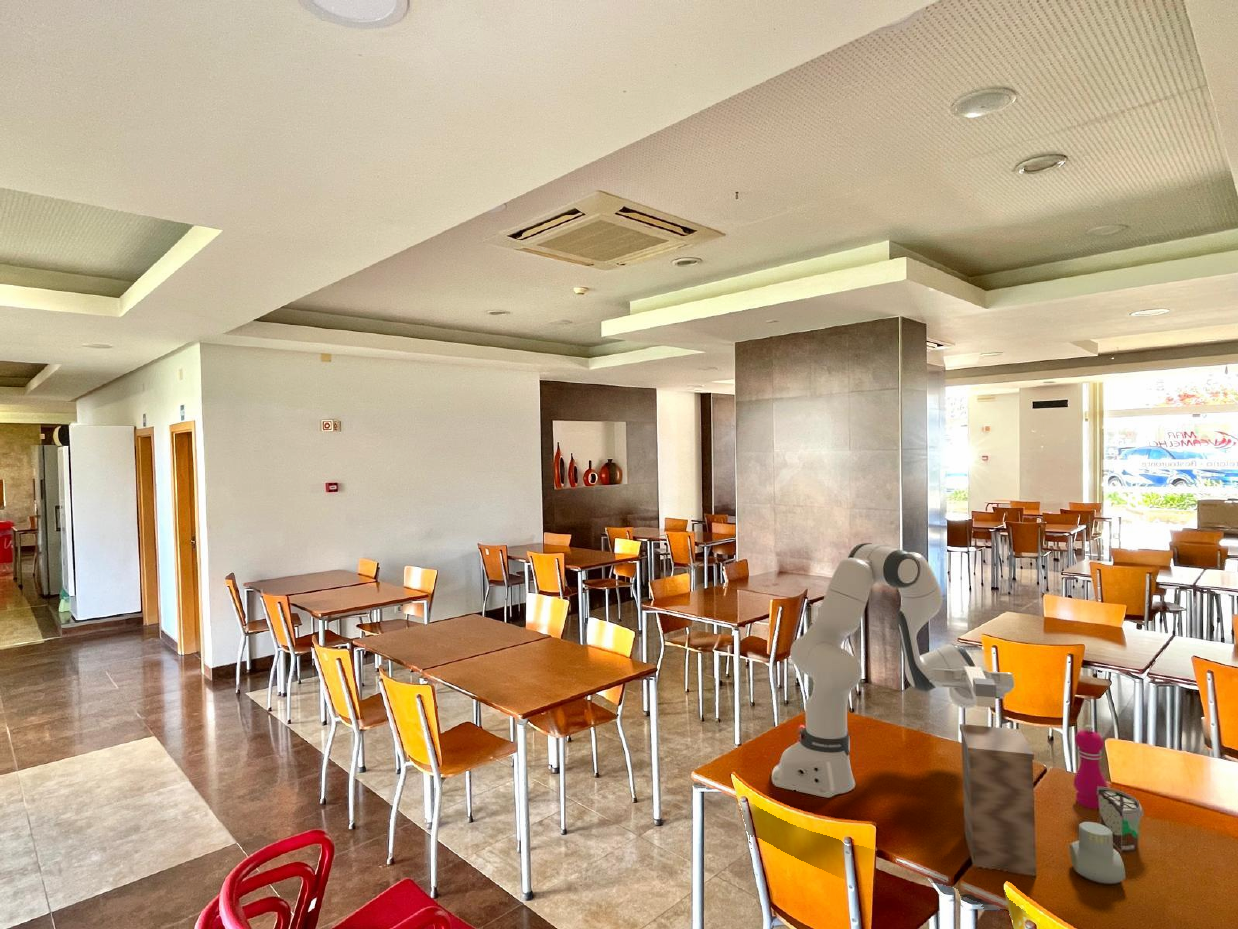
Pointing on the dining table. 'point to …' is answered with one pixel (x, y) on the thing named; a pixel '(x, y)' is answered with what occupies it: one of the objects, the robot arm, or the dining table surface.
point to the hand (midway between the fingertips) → (974, 672)
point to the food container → (1120, 817)
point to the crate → (998, 798)
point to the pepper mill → (1089, 768)
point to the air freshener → (1096, 854)
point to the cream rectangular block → (981, 687)
